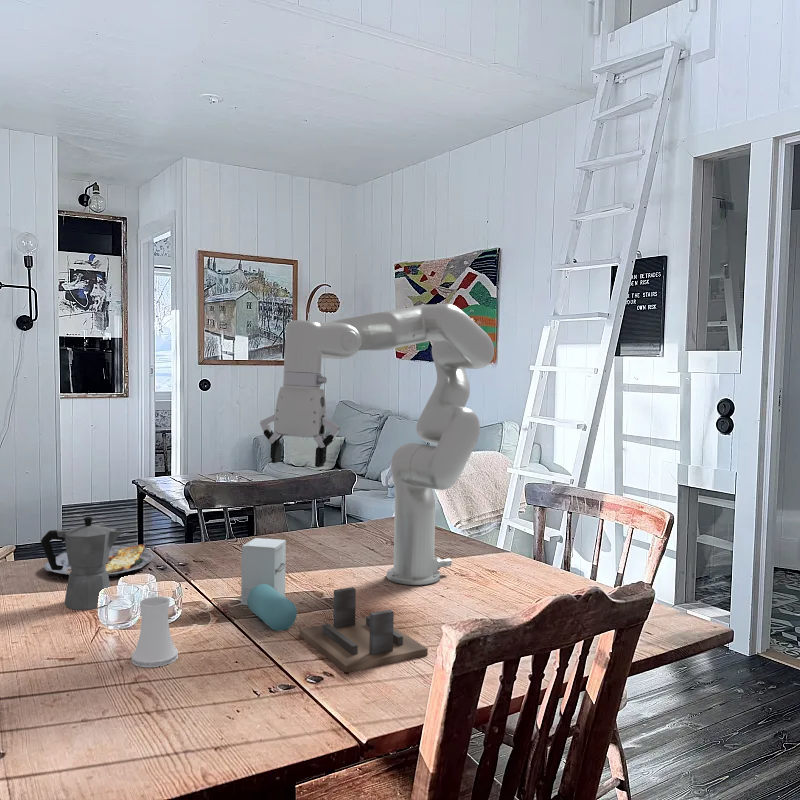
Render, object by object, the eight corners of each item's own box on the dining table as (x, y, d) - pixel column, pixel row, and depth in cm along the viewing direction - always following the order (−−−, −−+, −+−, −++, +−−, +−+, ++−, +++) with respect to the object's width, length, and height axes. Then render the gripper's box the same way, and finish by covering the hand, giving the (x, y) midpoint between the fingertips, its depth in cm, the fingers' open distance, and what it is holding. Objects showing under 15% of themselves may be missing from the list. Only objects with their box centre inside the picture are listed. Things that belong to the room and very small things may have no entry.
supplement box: (273, 608, 158) (274, 547, 158) (240, 605, 160) (240, 545, 159) (286, 597, 166) (286, 539, 165) (253, 594, 167) (254, 536, 166)
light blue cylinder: (246, 615, 154) (247, 585, 154) (275, 611, 157) (276, 582, 157) (266, 633, 145) (267, 601, 144) (296, 628, 148) (297, 597, 147)
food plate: (77, 551, 199) (77, 537, 199) (167, 554, 198) (167, 541, 198) (28, 582, 174) (28, 567, 174) (130, 587, 173) (130, 571, 173)
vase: (152, 671, 127) (152, 611, 126) (121, 661, 131) (121, 603, 130) (187, 656, 133) (187, 599, 132) (157, 647, 137) (157, 591, 136)
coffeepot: (122, 593, 166) (122, 510, 165) (123, 607, 157) (122, 519, 156) (43, 600, 161) (42, 514, 160) (39, 615, 152) (38, 524, 151)
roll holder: (375, 621, 152) (376, 580, 151) (427, 655, 136) (428, 609, 135) (299, 635, 144) (300, 592, 143) (345, 673, 127) (346, 624, 127)
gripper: (347, 383, 159) (343, 466, 160) (271, 379, 164) (267, 459, 165) (334, 383, 152) (330, 470, 153) (255, 378, 157) (251, 462, 158)
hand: (297, 464), depth 159 cm, fingers open, 9 cm apart
